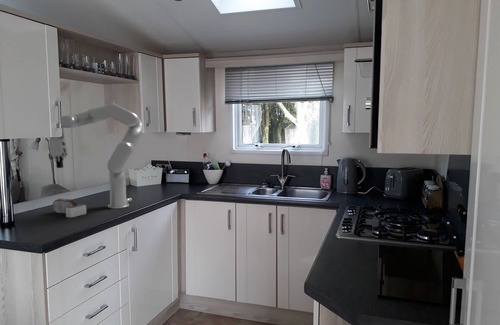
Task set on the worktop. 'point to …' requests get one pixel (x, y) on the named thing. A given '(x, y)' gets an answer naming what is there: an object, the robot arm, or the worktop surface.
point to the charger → (75, 210)
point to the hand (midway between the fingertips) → (60, 167)
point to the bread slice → (63, 205)
